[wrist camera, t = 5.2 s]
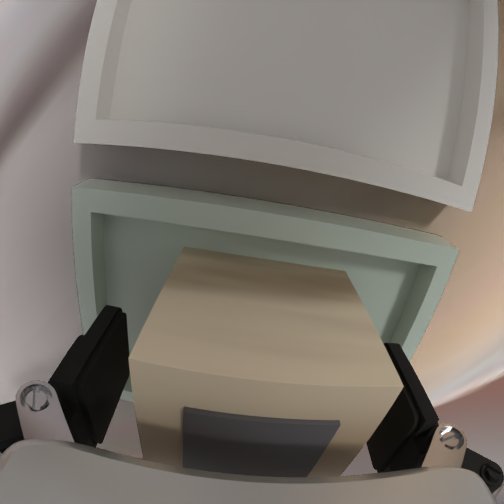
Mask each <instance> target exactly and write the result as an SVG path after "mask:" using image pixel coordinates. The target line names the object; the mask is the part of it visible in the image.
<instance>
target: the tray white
mask: <svg viewBox="0 0 504 504" xmlns="http://www.w3.org/2000/svg"><path fill="white" fill-rule="evenodd" d="M498 41H499V26H498V1H497V0H97V3H96V6H95V10H94V14H93V18H92V22H91V26H90V30H89V35H88V39H87V44H86V49H85V54H84V60H83V65H82V71H81V78H80V84H79V91H78V99H77V107H76V117H75V127H74V140H73V143H84V144H104V145H120V146H134V147H146V148H157V149H167V150H176V151H185V152H194V153H202V154H210V155H217V156H224V157H231V158H238V159H245V160H251V161H257V162H263V163H269V164H275V165H281V166H286V167H292V168H297V169H302V170H308V171H313V172H318V173H322V174H327V175H332V176H337V177H341V178H346V179H350V180H355V181H359V182H363V183H367V184H372V185H376V186H380V187H384V188H388V189H392V190H396V191H399V192H403V193H407V194H411V195H414V196H418V197H422V198H425V199H429V200H432V201H436V202H439V203H442V204H446V205H449V206H452V207H456V208H459V209H462V210H465V211H468V212H472V209H473V205H474V202H475V198H476V194H477V191H478V187H479V183H480V179H481V175H482V170H483V166H484V161H485V156H486V152H487V146H488V141H489V135H490V129H491V123H492V116H493V109H494V101H495V92H496V81H497V68H498Z"/></svg>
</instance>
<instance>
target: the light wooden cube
mask: <svg viewBox="0 0 504 504" xmlns="http://www.w3.org/2000/svg"><path fill="white" fill-rule="evenodd" d="M128 359H129V369H130V377H131V385H132V393H133V400H134V407H135V414H136V420H137V426H138V432H139V437H140V442H141V448H142V453H143V458H144V460H148V461H152V462H157V463H162V464H167V465H172V466H178V467H183V468H189V469H196V470H203V471H210V472H218V473H227V474H238V475H250V476H266V477H335V476H340V475H341V474H342V473H343V472H344V470H345V469H346V468H347V467H348V465H349V464H350V463H351V462H352V461H353V459H354V458H355V457H356V456H357V454H358V453H359V452H360V450H361V449H362V448H363V446H364V445H365V444H366V442H367V441H368V440H369V438H370V437H371V435H372V434H373V433H374V431H375V430H376V428H377V427H378V426H379V424H380V423H381V421H382V420H383V418H384V417H385V415H386V414H387V412H388V411H389V409H390V408H391V406H392V405H393V403H394V402H395V400H396V398H397V397H398V395H399V394H400V392H401V390H402V389H403V387H404V386H403V384H402V381H401V379H400V377H399V375H398V373H397V371H396V369H395V367H394V364H393V362H392V360H391V358H390V356H389V354H388V352H387V350H386V348H385V346H384V344H383V342H382V340H381V338H380V336H379V334H378V332H377V330H376V328H375V326H374V324H373V322H372V320H371V318H370V316H369V314H368V312H367V311H366V309H365V307H364V305H363V303H362V301H361V299H360V297H359V295H358V294H357V292H356V290H355V288H354V286H353V284H352V282H351V281H350V279H349V277H348V275H347V273H346V271H342V270H335V269H328V268H322V267H315V266H308V265H302V264H295V263H288V262H282V261H275V260H269V259H262V258H255V257H249V256H242V255H236V254H229V253H223V252H216V251H210V250H203V249H197V248H190V247H184V248H183V250H182V252H181V253H180V255H179V257H178V259H177V261H176V263H175V265H174V267H173V269H172V271H171V272H170V274H169V276H168V278H167V280H166V282H165V284H164V286H163V288H162V290H161V292H160V294H159V296H158V298H157V300H156V302H155V304H154V306H153V308H152V310H151V312H150V314H149V316H148V318H147V320H146V322H145V324H144V326H143V328H142V331H141V333H140V335H139V337H138V339H137V341H136V343H135V345H134V347H133V349H132V352H131V354H130V356H129V358H128Z"/></svg>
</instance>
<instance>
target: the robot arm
mask: <svg viewBox="0 0 504 504" xmlns="http://www.w3.org/2000/svg"><path fill="white" fill-rule="evenodd" d="M384 346H385V348H386V350H387V352H388V354H389V356H390V358H391V360H392V362H393V364H394V367H395V369H396V371H397V373H398V375H399V377H400V379H401V381H402V384H403V386H404V387H403V389H402V390H401V392H400V394H399V395H398V397H397V398H396V400H395V402H394V403H393V405H392V406H391V408H390V409H389V411H388V412H387V414H386V415H385V417H384V418H383V420H382V421H381V423H380V424H379V426H378V427H377V428H376V430H375V431H374V433H373V434H372V435H371V437H370V438H369V440H368V441H367V442H366V443H367V446H368V450H369V454H370V457H371V461H372V465H373V467H374V469H375V470H377V472H378V473H373V474H363V475H351V476H335V477H266V476H250V475H238V474H227V473H218V472H210V471H203V470H196V469H189V468H183V467H178V466H172V465H167V464H162V463H157V462H152V461H148V460H143V459H138V458H134V457H130V456H126V455H122V454H118V453H114V452H110V451H107V450H103V449H99V448H96V445H97V443H99V444H101V443H102V442H103V440H104V437H105V435H106V432H107V429H108V427H109V424H110V422H111V419H112V417H113V414H114V412H115V409H116V407H117V404H118V402H119V399H120V397H121V394H122V392H123V390H124V387H125V385H126V382H127V380H128V378H129V375H130V369H129V359H128V358H129V356H130V354H129V342H128V329H127V315H126V313H124V312H122V308H120V307H115V306H110V305H106V306H105V307H104V308H103V309H102V311H101V312H100V314H99V315H98V316H97V318H96V319H95V321H94V322H93V324H92V325H91V327H90V328H89V329H88V331H87V332H86V334H85V335H80V336H79V337H78V338H77V339H76V341H75V342H74V344H73V345H72V346H71V348H70V349H69V351H68V352H67V354H66V355H65V357H64V358H63V360H62V361H61V363H60V364H59V366H58V367H57V369H56V371H55V372H54V374H53V375H52V377H51V378H50V380H49V381H48V383H46V382H44V381H31V382H28V383H25V384H24V385H22V386H21V387H20V388H19V390H18V391H17V394H16V401H13V402H9V403H6V404H2V405H0V504H504V482H503V481H504V475H503V472H502V469H501V468H500V466H499V465H498V464H496V463H495V462H493V461H491V460H489V459H487V458H485V457H483V456H482V455H480V454H478V453H476V452H474V451H472V450H470V449H468V448H467V438H466V435H465V434H464V432H463V431H462V430H461V429H460V428H459V427H457V426H456V425H453V424H449V423H445V424H441V425H440V426H439V425H438V420H439V418H438V416H437V414H436V412H435V410H434V408H433V406H432V404H431V402H430V400H429V398H428V396H427V394H426V392H425V390H424V388H423V386H422V385H421V383H420V381H419V379H418V377H417V375H416V373H415V371H414V369H413V368H412V366H411V364H410V362H409V360H408V358H407V357H406V355H405V353H404V351H403V349H402V348H401V346H400V344H398V343H384Z"/></svg>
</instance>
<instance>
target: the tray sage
mask: <svg viewBox="0 0 504 504" xmlns="http://www.w3.org/2000/svg"><path fill="white" fill-rule="evenodd" d="M72 233H73V251H74V264H75V275H76V285H77V293H78V301H79V309H80V316H81V322H82V329H83V335H85V334H86V332H87V331H88V329H89V328H90V327H91V325H92V324H93V322H94V321H95V319H96V318H97V316H98V315H99V314H100V312H101V311H102V309H103V308H104V307H105V306H106V305H110V306H115V307H120V308H122V312H124V313H126V315H127V329H128V342H129V354H131V352H132V349H133V347H134V345H135V343H136V341H137V339H138V337H139V335H140V333H141V331H142V328H143V326H144V324H145V322H146V320H147V318H148V316H149V314H150V312H151V310H152V308H153V306H154V304H155V302H156V300H157V298H158V296H159V294H160V292H161V290H162V288H163V286H164V284H165V282H166V280H167V278H168V276H169V274H170V272H171V271H172V269H173V267H174V265H175V263H176V261H177V259H178V257H179V255H180V253H181V252H182V250H183V248H184V247H190V248H197V249H203V250H210V251H216V252H223V253H229V254H236V255H242V256H249V257H255V258H262V259H269V260H275V261H282V262H288V263H295V264H302V265H308V266H315V267H322V268H328V269H335V270H342V271H346V273H347V275H348V277H349V279H350V281H351V282H352V284H353V286H354V288H355V290H356V292H357V294H358V295H359V297H360V299H361V301H362V303H363V305H364V307H365V309H366V311H367V312H368V314H369V316H370V318H371V320H372V322H373V324H374V326H375V328H376V330H377V332H378V334H379V336H380V338H381V340H382V342H383V344H384V343H398V344H400V346H401V348H402V349H403V351H404V353H405V355H406V357H407V358H408V360H409V362H410V360H411V358H412V356H413V354H414V352H415V351H416V349H417V347H418V345H419V343H420V341H421V339H422V337H423V335H424V333H425V331H426V329H427V327H428V325H429V322H430V320H431V318H432V316H433V314H434V312H435V309H436V307H437V305H438V303H439V300H440V298H441V296H442V293H443V291H444V289H445V286H446V284H447V281H448V279H449V276H450V274H451V271H452V269H453V266H454V263H455V261H456V258H457V255H458V252H459V249H457V248H456V247H455V246H453V245H452V244H451V243H449V242H448V241H447V240H445V239H444V238H443V237H441V236H439V235H434V234H430V233H426V232H421V231H417V230H413V229H408V228H404V227H399V226H395V225H390V224H385V223H381V222H376V221H371V220H366V219H361V218H356V217H351V216H346V215H341V214H336V213H331V212H325V211H320V210H315V209H309V208H304V207H298V206H292V205H286V204H281V203H275V202H269V201H263V200H256V199H250V198H244V197H237V196H231V195H224V194H217V193H210V192H203V191H196V190H189V189H181V188H173V187H165V186H157V185H149V184H140V183H131V182H122V181H113V180H103V179H92V178H91V179H89V180H86V181H84V182H82V183H79V184H77V185H75V186H73V187H72ZM120 399H121V400H125V401H129V402H133V403H134V400H133V393H132V385H131V377H130V375H129V378H128V380H127V382H126V385H125V387H124V390H123V392H122V394H121V397H120Z"/></svg>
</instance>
